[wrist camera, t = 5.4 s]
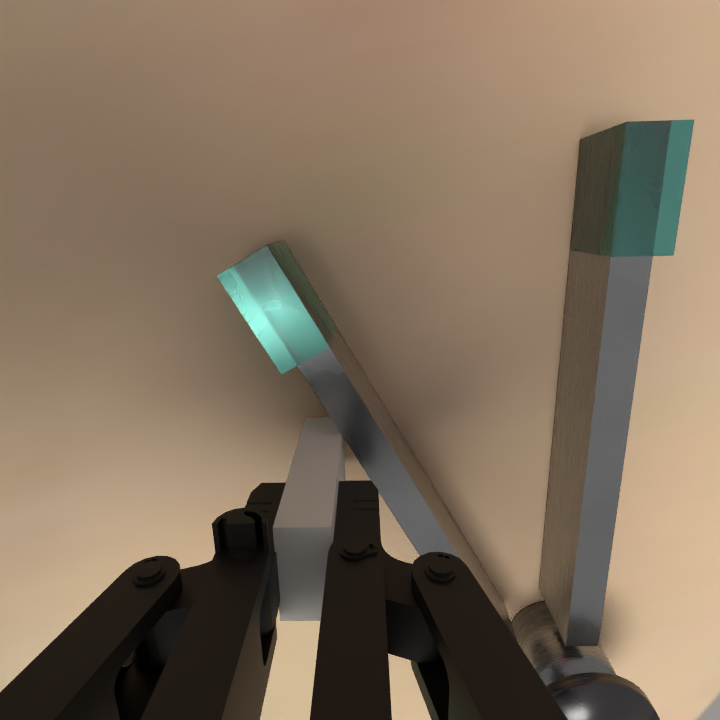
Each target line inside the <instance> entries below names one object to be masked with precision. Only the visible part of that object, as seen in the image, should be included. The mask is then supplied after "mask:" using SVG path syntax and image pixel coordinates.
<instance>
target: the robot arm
mask: <svg viewBox="0 0 720 720" xmlns="http://www.w3.org/2000/svg"><path fill="white" fill-rule="evenodd" d="M212 528H213V536H214V544H215V552H216V553H215V555H214V558H213V560H212V561H210V562H207V563H205V564H201V565H198V566H194V567H190V568H185V569H181V570H180V564H179V563H178V562H177V561H176V559H174V558H171V557H168V556H155V557H150V558H146V559H143V560H141V561H139V562H137V563H135V564H133V565H132V566H131V567H129V568H128V569H127V570H125V571H124V572H123V573H122V574H121V575H120V576H119V577H118V578H117V579H116V580H115V581H114V582H113V583H112V584H111V585H110V586H109V587H108V588H107V589H106V590H105V591H104V592H103V593H102V594H101V595H100V596H99V597H98V598H97V599H96V600H95V601H94V602H92V603H91V604H90V605H89V606H88V607H87V608H86V609H85V610H84V611H83V612H82V613H81V614H80V615H79V616H78V617H77V618H76V619H75V620H74V621H73V622H72V623H71V624H70V625H69V626H68V627H67V628H66V629H65V630H64V631H63V632H62V633H61V634H60V635H59V636H58V637H57V638H56V639H55V640H54V641H52V642H51V643H50V644H49V645H48V646H47V647H46V648H45V649H44V650H43V651H42V652H41V653H40V654H39V655H38V656H37V657H36V658H35V659H34V660H33V661H32V662H31V663H30V664H29V665H28V666H27V667H26V668H25V669H24V670H23V671H22V672H21V673H20V674H19V675H18V676H17V677H16V678H15V679H14V680H13V681H11V682H10V683H9V684H8V685H7V686H6V687H5V688H4V689H3V690H2V691H1V692H0V720H260V716H261V711H262V706H263V702H264V697H265V692H266V687H267V683H268V678H269V673H270V669H271V664H272V659H273V654H274V650H275V645H276V640H277V629H276V617H277V613H278V608H279V611H280V621H304V620H305V621H319V620H321V622H320V631H319V640H318V650H317V659H316V668H315V678H314V687H313V696H312V705H311V715H310V720H392V716H391V698H390V680H389V662H388V653H389V654H392V655H395V656H399V657H402V658H405V659H409V660H411V666H412V669H413V672H414V675H415V677H416V680H417V682H418V685H419V688H420V690H421V693H422V696H423V698H424V701H425V703H426V706H427V709H428V711H429V714H430V717H431V719H432V720H568V719H567V717H566V716H565V714H564V713H563V711H562V710H561V708H560V707H559V705H558V704H557V702H556V701H555V699H554V697H553V696H552V694H551V693H550V691H549V690H548V688H547V687H546V685H545V684H544V682H543V681H542V679H541V678H540V676H539V675H538V673H537V671H536V670H535V668H534V667H533V665H532V664H531V662H530V661H529V659H528V658H527V656H526V655H525V653H524V652H523V650H522V649H521V647H520V645H519V644H518V642H517V641H516V639H515V638H514V636H513V635H512V633H511V632H510V630H509V629H508V627H507V626H506V624H505V623H504V621H503V619H502V618H501V616H500V615H499V613H498V612H497V610H496V609H495V607H494V606H493V604H492V603H491V601H490V600H489V598H488V597H487V595H486V594H485V592H484V590H483V589H482V587H481V586H480V584H479V583H478V581H477V580H476V578H475V577H474V575H473V574H472V572H471V571H470V569H469V568H468V566H467V565H466V564H465V563H464V562H463V561H462V560H461V559H460V558H458V557H456V556H454V555H452V554H449V553H444V552H429V553H426V554H423V555H421V556H419V557H418V558H417V559H416V560H415V561H414V563H413V564H410V563H406V562H403V561H399V560H397V559H395V558H393V557H391V556H390V555H389V554H387V553H386V552H385V550H384V549H383V547H382V544H381V537H380V517H379V497H378V489H377V487H376V486H375V485H374V484H373V482H372V481H345V458H344V437H343V436H342V434H341V433H340V431H339V430H338V428H337V426H336V425H335V423H334V422H333V420H332V419H331V417H306V418H305V421H304V424H303V428H302V431H301V434H300V438H299V441H298V444H297V448H296V451H295V455H294V458H293V461H292V465H291V468H290V471H289V475H288V478H287V481H286V483H261V484H260V485H259V486H258V487H257V488H255V489H254V490H253V491H252V492H251V494H250V496H249V499H248V501H247V505H246V506H245V508H239V509H234V510H231V511H228V512H225V513H224V514H222V515H220V516H219V517H217V518H216V520H215V521H214V522H213V523H212Z"/></svg>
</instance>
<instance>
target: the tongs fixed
mask: <svg viewBox="0 0 720 720" xmlns="http://www.w3.org/2000/svg"><path fill="white" fill-rule="evenodd" d="M693 124H694V120H670V121H642V122H625V123H623V124H620V125H617V126H615V127H612V128H609V129H607V130H604V131H602V132H599V133H596V134H594V135H591V136H588V137H586V138H583V139H580V149H579V160H578V171H577V182H576V193H575V204H574V214H573V225H572V236H571V247H570V258H569V269H568V279H567V290H566V301H565V312H564V323H563V333H562V344H561V355H560V366H559V377H558V388H557V398H556V409H555V420H554V431H553V442H552V453H551V463H550V474H549V485H548V496H547V507H546V517H545V528H544V539H543V550H542V561H541V572H540V582H539V589H540V591H541V593H542V595H543V598H544V600H545V601H543V602H539V603H535V604H533V605H530V606H528V607H526V608H525V609H523V610H522V611H521V612H519V613H518V614H517V615H516V616H515V618H514V619H513V621H512V622H511V624H512V627H513V630H514V633H515V636H516V639H517V642H518V644H519V645H520V647H521V649H522V650H523V652H524V653H525V655H526V656H527V658H528V659H529V661H530V662H531V664H532V665H533V667H534V668H535V670H536V671H537V673H538V675H539V676H540V678H541V679H542V681H543V682H544V684H545V685H546V687H547V688H548V690H549V691H550V693H551V694H552V696H553V697H554V699H555V701H556V702H557V704H558V705H559V707H560V708H561V710H562V711H563V713H564V714H565V716H566V717H567V719H568V720H660V719H659V717H658V715H657V713H656V711H655V709H654V708H653V706H652V704H651V703H650V701H649V699H648V697H647V696H646V695H645V693H644V692H643V691H642V690H641V689H640V688H639V687H638V686H637V685H635V684H634V683H632V682H631V681H629V680H627V679H625V678H622V677H620V676H617V675H616V673H615V671H614V669H613V668H612V666H611V664H610V662H609V660H608V658H607V656H606V655H605V653H604V651H603V649H602V647H601V645H600V643H599V635H600V628H601V621H602V614H603V607H604V600H605V592H606V585H607V578H608V571H609V564H610V557H611V550H612V542H613V535H614V528H615V521H616V514H617V507H618V500H619V492H620V485H621V478H622V471H623V464H624V457H625V450H626V442H627V435H628V428H629V421H630V414H631V407H632V400H633V392H634V385H635V378H636V371H637V364H638V357H639V350H640V342H641V335H642V328H643V321H644V314H645V307H646V300H647V292H648V285H649V278H650V271H651V264H652V257H653V256H669V255H674V249H675V242H676V236H677V229H678V223H679V216H680V209H681V203H682V196H683V190H684V183H685V176H686V170H687V163H688V157H689V150H690V144H691V137H692V130H693Z"/></svg>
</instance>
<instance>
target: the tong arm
mask: <svg viewBox="0 0 720 720" xmlns="http://www.w3.org/2000/svg"><path fill="white" fill-rule="evenodd" d="M217 277H218V279H219V280H220V282H221V283H222V285H223V286H224V288H225V290H226V291H227V293H228V294H229V296H230V297H231V299H232V300H233V302H234V303H235V305H236V306H237V308H238V309H239V311H240V312H241V314H242V315H243V317H244V318H245V320H246V321H247V323H248V325H249V326H250V328H251V329H252V331H253V332H254V334H255V335H256V337H257V338H258V340H259V341H260V343H261V344H262V346H263V347H264V349H265V350H266V352H267V353H268V355H269V356H270V358H271V360H272V361H273V363H274V364H275V366H276V367H277V369H278V370H279V372H280V373H281V375H282V374H283V373H285V372H287V371H289V370H291V369H292V368H294V367H296V366H298V368H299V369H300V371H301V372H302V374H303V375H304V377H305V378H306V380H307V381H308V383H309V385H310V386H311V388H312V389H313V391H314V392H315V394H316V395H317V397H318V399H319V400H320V402H321V403H322V405H323V406H324V408H325V409H326V411H327V413H328V414H329V416H330V417H331V419H332V420H333V422H334V423H335V425H336V426H337V428H338V430H339V431H340V433H341V434H342V436H343V437H344V439H345V440H346V442H347V444H348V445H349V447H350V448H351V450H352V451H353V453H354V454H355V456H356V457H357V459H358V461H359V462H360V464H361V465H362V467H363V468H364V470H365V471H366V473H367V475H368V476H369V478H370V479H371V481H372V482H373V484H374V485H375V486H376V487H377V489H378V492H379V493H380V495H381V496H382V498H383V499H384V501H385V502H386V504H387V506H388V507H389V509H390V510H391V512H392V513H393V515H394V516H395V518H396V520H397V521H398V523H399V524H400V526H401V527H402V529H403V530H404V532H405V534H406V535H407V537H408V538H409V540H410V541H411V543H412V544H413V546H414V547H415V549H416V551H417V552H418V554H419V555H420V556H421V555H423V554H426V553H429V552H444V553H449V554H452V555H454V556H456V557H458V558H460V559H461V560H462V561H463V562H464V563H465V564H466V565H467V566H468V568H469V569H470V571H471V572H472V574H473V575H474V577H475V578H476V580H477V581H478V583H479V584H480V586H481V587H482V589H483V590H484V592H485V594H486V595H487V597H488V598H489V600H490V601H491V603H492V604H493V606H494V607H495V609H496V610H497V612H498V613H499V615H500V616H501V618H502V619H503V621H504V623H505V624H506V626H507V627H508V629H509V630H510V632H511V633H512V635H513V636H514V638H515V639H516V636H515V633H514V630H513V627H512V624H511V621H510V619H509V616H508V613H507V610H506V607H505V604H504V602H503V600H502V599H501V597H500V595H499V594H498V592H497V590H496V589H495V587H494V585H493V584H492V582H491V580H490V579H489V577H488V576H487V574H486V572H485V571H484V569H483V567H482V566H481V564H480V562H479V561H478V559H477V557H476V556H475V554H474V553H473V551H472V549H471V548H470V546H469V544H468V543H467V541H466V539H465V538H464V536H463V534H462V533H461V531H460V529H459V528H458V526H457V525H456V523H455V521H454V520H453V518H452V516H451V515H450V513H449V511H448V510H447V508H446V506H445V505H444V503H443V502H442V500H441V498H440V497H439V495H438V493H437V492H436V490H435V488H434V487H433V485H432V483H431V482H430V480H429V478H428V477H427V475H426V474H425V472H424V470H423V469H422V467H421V465H420V464H419V462H418V460H417V459H416V457H415V455H414V454H413V452H412V451H411V449H410V447H409V446H408V444H407V442H406V441H405V439H404V437H403V436H402V434H401V432H400V431H399V429H398V427H397V426H396V424H395V423H394V421H393V419H392V418H391V416H390V414H389V413H388V411H387V409H386V408H385V406H384V404H383V403H382V401H381V400H380V398H379V396H378V395H377V393H376V391H375V390H374V388H373V386H372V385H371V383H370V381H369V380H368V378H367V376H366V375H365V373H364V372H363V370H362V368H361V367H360V365H359V363H358V362H357V360H356V358H355V357H354V355H353V353H352V352H351V350H350V349H349V347H348V345H347V344H346V342H345V340H344V339H343V337H342V335H341V334H340V332H339V330H338V329H337V327H336V325H335V324H334V322H333V321H332V319H331V317H330V316H329V314H328V312H327V311H326V309H325V307H324V306H323V304H322V302H321V301H320V299H319V298H318V296H317V294H316V293H315V291H314V289H313V288H312V286H311V284H310V283H309V281H308V279H307V278H306V276H305V274H304V273H303V271H302V270H301V268H300V266H299V265H298V263H297V261H296V260H295V258H294V256H293V255H292V253H291V251H290V250H289V248H288V247H287V245H286V243H285V242H284V241H281V242H277V243H273V244H269V245H266V246H264V247H263V248H261V249H260V250H258V251H256V252H255V253H253V254H251V255H250V256H248V257H247V258H245V259H243V260H242V261H240V262H239V263H237V264H235V265H234V266H232V267H231V268H229V269H227V270H226V271H224V272H222V273H221V274H219V275H218V276H217ZM516 641H517V639H516Z"/></svg>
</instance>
